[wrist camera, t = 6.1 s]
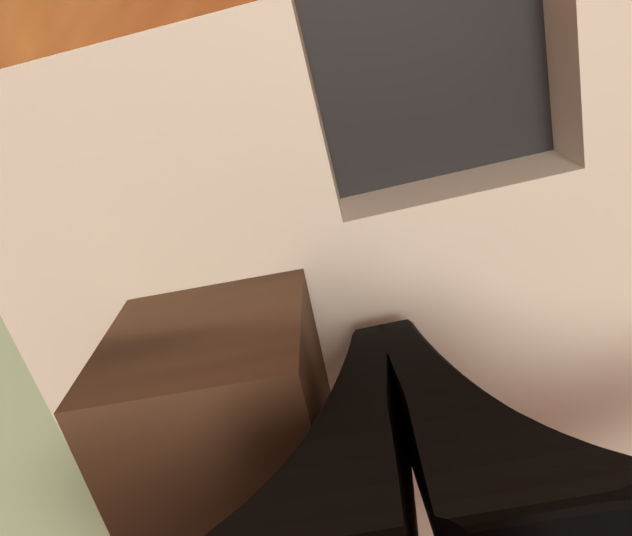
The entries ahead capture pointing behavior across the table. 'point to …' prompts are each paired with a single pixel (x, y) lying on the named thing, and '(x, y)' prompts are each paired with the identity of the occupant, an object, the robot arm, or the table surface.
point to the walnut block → (195, 402)
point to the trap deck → (326, 202)
